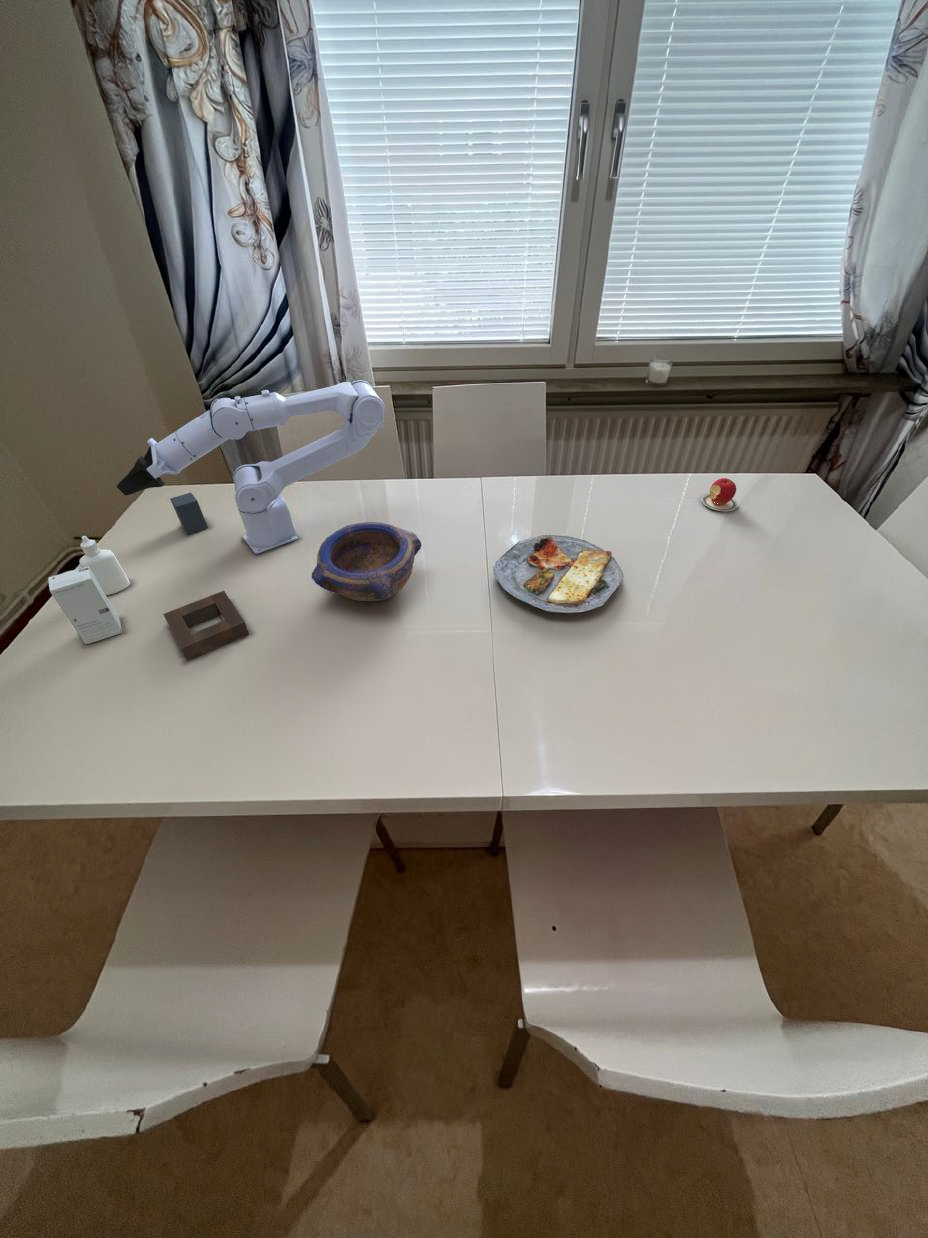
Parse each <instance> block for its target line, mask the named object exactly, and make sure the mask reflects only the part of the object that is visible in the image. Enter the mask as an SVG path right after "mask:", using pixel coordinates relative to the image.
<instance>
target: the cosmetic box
mask: <svg viewBox="0 0 928 1238" xmlns="http://www.w3.org/2000/svg"><path fill="white" fill-rule="evenodd" d="M47 579H48V587H49V588H48V589H49V593H50V594H51V596H52V597H53V599H54V600H55V601H56V603H57V605H58V607H60V609H61V610H62V612H63V613H64V615H65V616H66V618H67V620H68V621H69V622H70V624H71V626H72V627H73V628H74V629H75V631H76V633H77V634H78V636H79V637H80V638H81V640H82V641H83V643H84V644H85V645H90V644H93V643H96V642H99V641H102V640H105V639H107V638H110V637H114V636H116V635H119V634H122V633H123V629H122V624H121V619H120V617H119V615H118V613H117V612H116V610H115V609H114V606H113V605H112V603H111V602H110V600H109V599H108V596H107V595H105V593H104V592H103V590H102V588H101V586H100V585H99V583H98V581H97V580H96V578H95V576H94V574H93V573H92V571H91V569H90V567H85V568H82V567H81V568H78V569H73V570H68V571H65V572H62V573H59V574H56V575H52V576H49V577H47Z"/></svg>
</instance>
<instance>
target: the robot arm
mask: <svg viewBox="0 0 928 1238" xmlns="http://www.w3.org/2000/svg"><path fill="white" fill-rule="evenodd" d="M260 392H261V394H257V395H252V396H245V397H241V396H240V395H236V396H234V399H231V398H230V397H222V398H215V399H214V400H213V401H212V403H211V405H210V409H208V410H207V411H205V412H204V413H202V414H201V415H199V416H197V417H195V418H193V419H192V420H190V421H189V422H187V423H186V424H184V425H183V426H181V427H180V428H178V429H177V430H175V431H174V432H172V433H171V434H169V435H168V436H166V437H165V438H163V439H162V440H160V441H158V442H157V441H156V440H155V439H154V438H153V437H150V438H149V439H148V440H146V441H147V444H148V445H149V447H148V450H147V452H146V453H145V454H144V456H143V455H140V456H139V457H138V458H137V459H136V461H135V463H134V466H133V467H132V468H131V469H130V471H129V472H128V473H127V474H126V475H125V476H124V477H123V478H122V479H121V480H120V481H119V482H118V483H117V485H116V488H117V489H118V490H119V491H120V492H121V493H122V494H123V495H124V496H126V497H127V496H130V495H133V494H136V493H138V492H142V491H143V490H148V489H152V488H161V487H164V486H165V484H166V483H165V481H163V479H162V478H161V477H162V476H163V475H178V474H180V473H181V472H182V470H184V469H185V468H187V467H188V466H190V465H191V464H193V463H195V462H197V461H198V460H199V459H201V458H202V457H204V456H205V455H208V453H210V452H212V451H213V450H215V449H216V448H218V447H219V446H220V445H222V444H223V443H225V442H227V441H228V440H230V441H231V440H233V441H234V440H237V441H238V440H241V439H242V438H244V437H245V436H246V434H247V433H248V432H254V431H259V430H265V429H269V428H274V427H279V426H283V425H286V424H287V422H288V421H289V420H290V418H291V417H296V416H297V417H298V416H303V415H311V414H317V413H325V412H334V413H336V414H338V415H339V416H342V417H343V421H342V424H341V428H339V429H337V430H335V431H333V432H330V433H329V434H327V435H325V436H323V437H321V438H319V439H317V440H314V441H313V442H310V443H308V444H306V445H303V446H302V447H299V448H298V449H296V450H293V451H292V452H289V453H287V454H286V455H284V456H282V457H279V458H277V459H275V460H272V461H265V460H261V461H259V462H257V463H251V464H241V465H240V466H238V467H237V468H236V469H235V470H234V471H233V474H232V480H233V485H234V493H235V494H234V501H235V503H236V507H237V510H238V512H239V516H240V519H241V521H242V524H243V528H244V530H245V534H244V535H243V536H242V539H243V540H244V542H245V543H246V544H247V545H248V546H249V548H250V549H251V550H252V552H253V553H254V554H255V555H258V554H261V553H264V552H267V551H269V550H272V549H275V548H277V547H280V546H283V545H287V544H289V543H291V542H294V541H297V540H298V536H297V534H296V531H295V527H294V523H293V520H292V516H291V512H290V509H289V507H288V504H287V503H286V500H284V498H283V496H281V494H282V492H283V491H284V489H286V487H289V486H290V485H293V484H294V483H296V482H298V481H301V480H303V479H305V478H307V477H310V476H311V475H313V474H315V473H317V472H319V471H321V470H324V469H326V468H327V467H329V466H331V465H334V464H336V463H338V462H340V461H343V460H344V459H346V458H348V457H351V456H353V455H354V454H357V453H359V452H361V451H362V450H363V449H365V448H366V446H367V445H368V444H369V442H370V441H371V440H372V438H373V437H374V435H375V434H376V433H377V431H379V430H382V429H383V427H384V423H385V419H386V414H387V408H386V405H385V403H384V401H383V400H382V399H381V398H380V397H379V396H378V394H377V393H376V391H375V389H374V387H373V386H372V385H371V384H370V383H369V382H368V381H366V380H362V379H361V380H360V379H358V380H354V381H352V382H351V381H343V382H339V383H337V384H334V385H330V386H327V387H323V388H318V389H314V390H310V391H306V392H302V393H297V394H293V395H290V396H283V395H281V394H279V393H278V392H276V391H273V392H270V391H269V389H263V390H261V391H260Z"/></svg>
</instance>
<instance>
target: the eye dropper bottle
mask: <svg viewBox="0 0 928 1238" xmlns="http://www.w3.org/2000/svg"><path fill="white" fill-rule="evenodd" d="M81 540H82V542H81V543H80V545H79V546H80V549H81V550H82V551H83V553H84V555H83V556H82V557H80V558H79V565H80V567H81V568H85V567H90V569H91V571H92V573H93V574H94V576H95V578H96V580H97V581H98V583H99V585H100V586H101V588H102V590H103V592H104V593H105V595H106V596H109V595H114V594H116V593H119V592H121V591H123V590H125V589H127V588H129V587H130V585H131V581H130V580H129V578H128V576H127V574H126V573H125V571H124V569H123V567H122V566H121V564H120V562H119V560H118V558H117V557H116V555H115V554H114V552H113V551H112V550H111V549H105V548H103V549H101V548H100V546H99V544H98V543H97V541H96V540H94V539H89V537H88V536H86V535H82V536H81Z"/></svg>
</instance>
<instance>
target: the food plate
mask: <svg viewBox="0 0 928 1238" xmlns="http://www.w3.org/2000/svg"><path fill="white" fill-rule="evenodd" d="M492 571H493V576H494V578H495V580H496V581H497V582H498V583H499V584H500V585H501V587H502V589H503V590H504V591H505V592H506V593H507V592H508V594H509V595H511V596H512V597H514V598H515V599H517V600H520V601H522V603H523V602H524V603H525V604H528V605H529V606H532V607H535V608H538V609H541V610H543V611H545V612H549V613H550V612H551V613H565V614H568V613H569V614H574V613H582V612H588V611H592V610H594V609H598V608H600V607H601V608H602V607H603V606H604V605H605V604H606V603H607V601H608V600H609V598H611V597H612V595H613V594H614V593H615V591H616V590H617V589H618V587H619V586H620V585H621V584H622V582H623V581H624V573H623V570H622V569H621V567H620V565H619V564H618V562H617V561H616V559H615V557H614V556H613V553H612V551H611V550H607V551H606V550H604V549H603V548H602V547H600V546H597V545H596V544H593V543H591V542H589V541H587V540H585V539H581V538H579V537H573V536H568V535H554V534H543V535H538V536H534V537H528V538H526V539H524V540H519V541H518V542H516V543H514V545H513V546H512V547H511V548H509V549H508V550H507V551H505V553H504V554H503V555H501V557H499V558H498V559H497V560H496V561H495V563H494V565H493V570H492Z"/></svg>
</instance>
